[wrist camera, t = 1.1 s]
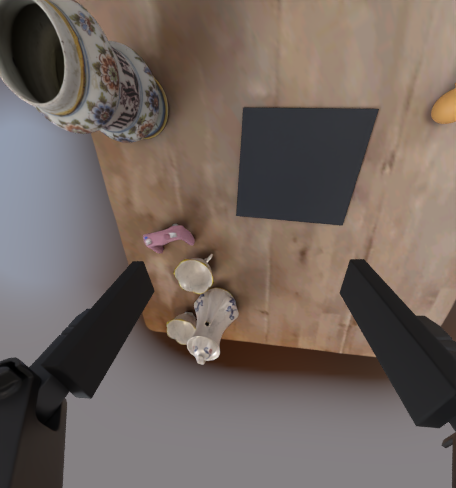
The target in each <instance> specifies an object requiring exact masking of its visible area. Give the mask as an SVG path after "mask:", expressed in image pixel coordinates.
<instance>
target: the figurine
mask: <svg viewBox="0 0 456 488" xmlns="http://www.w3.org/2000/svg"><path fill="white" fill-rule="evenodd" d="M455 84H456V83H455ZM455 87H456V86H455ZM431 115H432V118H433V120H434V121H435V122H437V123H440V124H449V123H453V122H456V88H455V89H453V90H450V91H449V92H447V93H445V94H444V95H443V96H441V97H440V98H439V99H438V100H437V102H436V103H435V104H434V106H433V108H432V112H431Z"/></svg>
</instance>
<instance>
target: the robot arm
mask: <svg viewBox="0 0 456 488" xmlns="http://www.w3.org/2000/svg"><path fill="white" fill-rule="evenodd" d="M153 293H154V288H153V286H152V283H151V280H150V278H149V275H148V272H147V270H146V267H145V264H144V262H143V261H133V262H132V263H131V264H130V265H129V266H128V267H127V269H126V270H125V271H124V272H123V273H122V274H121V275H120V276H119V278H118V279H117V280H116V281H115V282H114V283H113V284H112V285H111V287H110V288H109V289H108V290H107V291H106V292H105V293H104V294H103V295H102V297H101V298H100V299H99V300H98V301H97V302H96V303H95V304H94V306H93V307H92V308H91V309H86V310H85V311H84V312H82V313H81V314H80V315H78V316H77V317H76V318H75V319H74V320H73V321H72V322H71V323H70V324H69V326H68V327H67V328H66V329H65V330H64V331H63V332H62V333H61V335H59V336H58V337H57V338H56V339H55V340H54V341H53V343H52V344H51V345H50V346H49V347H48V348H47V349H46V350H45V351H44V352H43V353H42V354H41V356H40V357H39V358H38V359H37V360H36V361H35V362H34V363H33V364H32V365H31V366H30V367H28V366H26V365H25V364H24V363H23V362H22V361H20V360H19V359H17V358H8V359H6V360H3V361H0V488H62V486H63V468H64V450H65V432H66V431H65V430H66V413H67V402H66V399H65V397H66V396H67V394H68V393H69V391H70V392H71V393H72V394H73V395H74V396H75V397H79V398H90V399H91V398H92V397H93V395H94V393H95V392H96V390H97V388H98V386H99V385H100V383H101V381H102V380H103V378H104V376H105V375H106V373H107V371H108V369H109V368H110V366H111V364H112V363H113V361H114V359H115V358H116V356H117V354H118V352H119V351H120V349H121V347H122V346H123V344H124V342H125V341H126V339H127V337H128V335H129V334H130V332H131V330H132V328H133V327H134V325H135V323H136V322H137V320H138V318H139V317H140V315H141V313H142V312H143V310H144V308H145V307H146V305H147V303H148V301H149V300H150V298H151V296H152V295H153ZM340 295H341V296H342V298H343V300H344V301H345V303H346V305H347V307H348V308H349V310H350V312H351V314H352V315H353V317H354V319H355V321H356V322H357V324H358V326H359V328H360V329H361V331H362V333H363V335H364V336H365V338H366V340H367V341H368V343H369V345H370V347H371V348H372V350H373V352H374V354H375V355H376V357H377V359H378V361H379V362H380V364H381V366H382V368H383V369H384V371H385V373H386V375H387V376H388V378H389V380H390V381H391V383H392V385H393V387H394V388H395V390H396V392H397V394H398V395H399V397H400V399H401V401H402V402H403V404H404V406H405V408H406V409H407V411H408V413H409V414H410V416H411V418H412V419H413V421H414V423H415V425H416V426H421V427H433V428H440V427H442V426H443V425H444V424H446V423H447V422H449V423H450V424H451V426H452V427H453V429H454V430H455V431H456V342H455V341H453V340H452V338H451V337H450V336H449V335H448V334H447V333H446V332H445V331H444V330H443V329H442V328H441V327H440V326H439V325H437V324H436V323H434V322H433V321H432V320H430V319H429V318H427V317H426V316H416V315H415V314H414V313H413V312H412V311H411V310H410V309H409V308H408V307H407V306H406V304H405V303H404V302H403V301H402V300H401V299H400V298H399V297H398V296H397V295H396V294H395V293H394V291H393V290H392V289H391V288H390V287H389V286H388V285H387V284H386V283H385V282H384V281H383V279H382V278H381V277H380V276H379V275H378V274H377V273H376V272H375V271H374V270H373V269H372V268H371V266H370V265H369V264H368V263H367V262H366V261H365V260H364V259H350V262H349V265H348V268H347V271H346V274H345V278H344V281H343V284H342V287H341V290H340ZM452 444H453V457H452V459H453V460H452V488H456V432H455V433H454V434H452V435H451V436H449V437H448V438H446V439H444V441H443V443H442V446H443V447H445V448H447V447H449V446H451V445H452Z"/></svg>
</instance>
